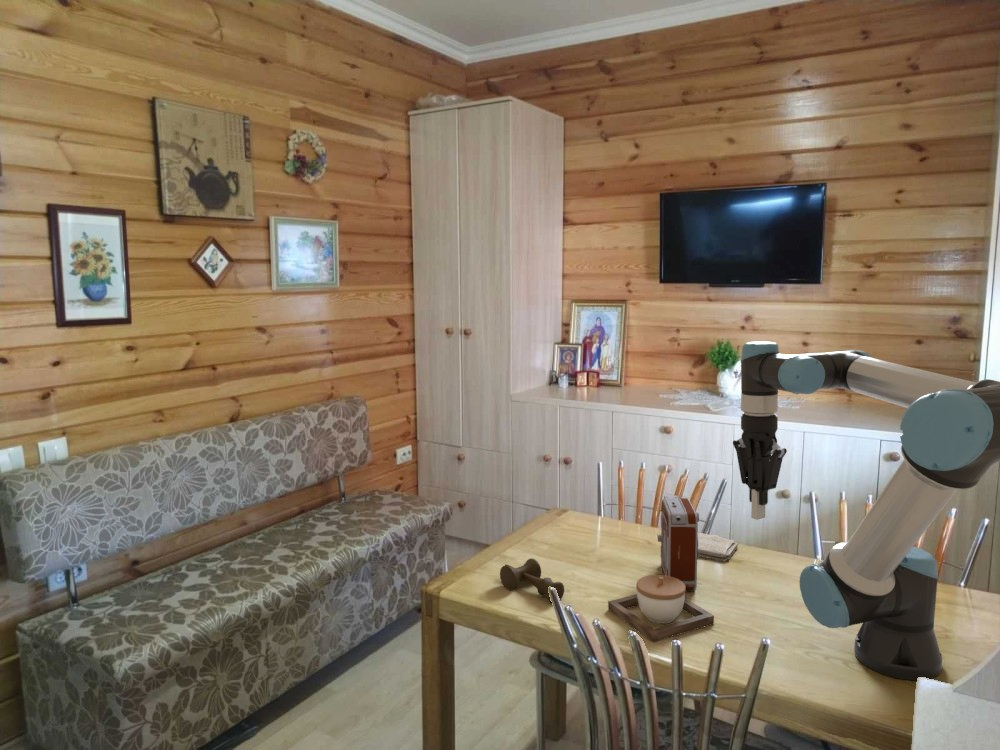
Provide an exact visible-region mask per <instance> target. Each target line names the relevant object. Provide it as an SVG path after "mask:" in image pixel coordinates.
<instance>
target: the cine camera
mask: <svg viewBox="0 0 1000 750" xmlns="http://www.w3.org/2000/svg"><path fill="white" fill-rule="evenodd" d="M660 509H661V514H660V528H661V530H660V531H661V532H660V533H661V534H660V533H657V535H656V536H657V542H658V543H660V566H661V571H662V572H661V573H662V575H666V576H671V577H674V578H677V579H679V580H681V581H682V582H683V583H684V584H685V587H686V591H691V592H693V591H696V590H697V584H698V583H697V580H698V560H699V557H700V556H699V549H698V533H699V532H698V530H699V529H698V528H699V527H698V526H699V523H698V522H700V513H699V512H698V511H697V512H696V511H695V508H694V507H693V505H692V502H691V501H690V499H688V498H686V497H685V498H679V496H678V495H672V494H671V495H670V494H669V495H668V494H667V495H663V498H662V499H661V508H660ZM686 591H685V592H686Z"/></svg>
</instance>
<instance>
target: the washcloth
mask: <svg viewBox="0 0 1000 750" xmlns="http://www.w3.org/2000/svg"><path fill="white" fill-rule="evenodd" d="M713 540H714V541H713ZM738 545H739V544H738V543H737V542H735V540H734V539H728V538H724V537H721V536H719V535H718V534H706V533H702V532H698V549H699V557H700V556H703V557H702V558H705V557H708V558H707V559H710V558H713V559H712V560H715V559H717V560H716V561H719V560H722V561H721V562H725V561H726V562H727V561H728V560H730V559H731V558H732V556H733V554H734V553H735V552H736V551H737V549H738V547H739V546H738ZM735 550H736V551H735ZM727 559H728V560H727Z"/></svg>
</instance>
